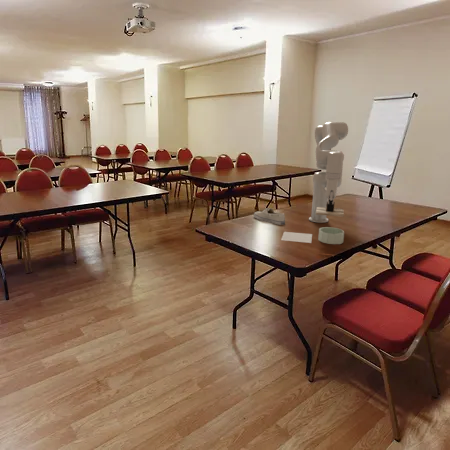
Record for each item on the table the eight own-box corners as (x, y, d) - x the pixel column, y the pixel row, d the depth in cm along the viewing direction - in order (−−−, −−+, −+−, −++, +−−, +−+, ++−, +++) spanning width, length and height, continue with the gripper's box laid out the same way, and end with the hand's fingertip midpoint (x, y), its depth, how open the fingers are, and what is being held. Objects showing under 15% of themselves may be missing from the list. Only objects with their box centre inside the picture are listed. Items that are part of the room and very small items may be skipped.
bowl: (318, 236, 208) (319, 226, 207) (342, 238, 205) (343, 228, 204) (318, 243, 196) (318, 232, 195) (343, 246, 193) (344, 235, 192)
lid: (316, 208, 205) (317, 198, 204) (343, 210, 202) (344, 200, 200) (315, 214, 192) (316, 204, 191) (343, 216, 189) (344, 206, 187)
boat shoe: (251, 217, 247) (251, 205, 245) (260, 215, 252) (261, 203, 250) (278, 226, 228) (278, 212, 226) (287, 224, 234) (288, 210, 231)
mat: (283, 232, 215) (284, 231, 214) (312, 235, 211) (312, 234, 211) (280, 241, 200) (281, 240, 199) (311, 243, 196) (311, 242, 196)
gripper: (326, 173, 200) (323, 206, 205) (325, 178, 185) (322, 213, 190) (340, 174, 198) (337, 207, 203) (341, 179, 183) (337, 214, 188)
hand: (329, 210), depth 197 cm, fingers closed on lid, 4 cm apart
